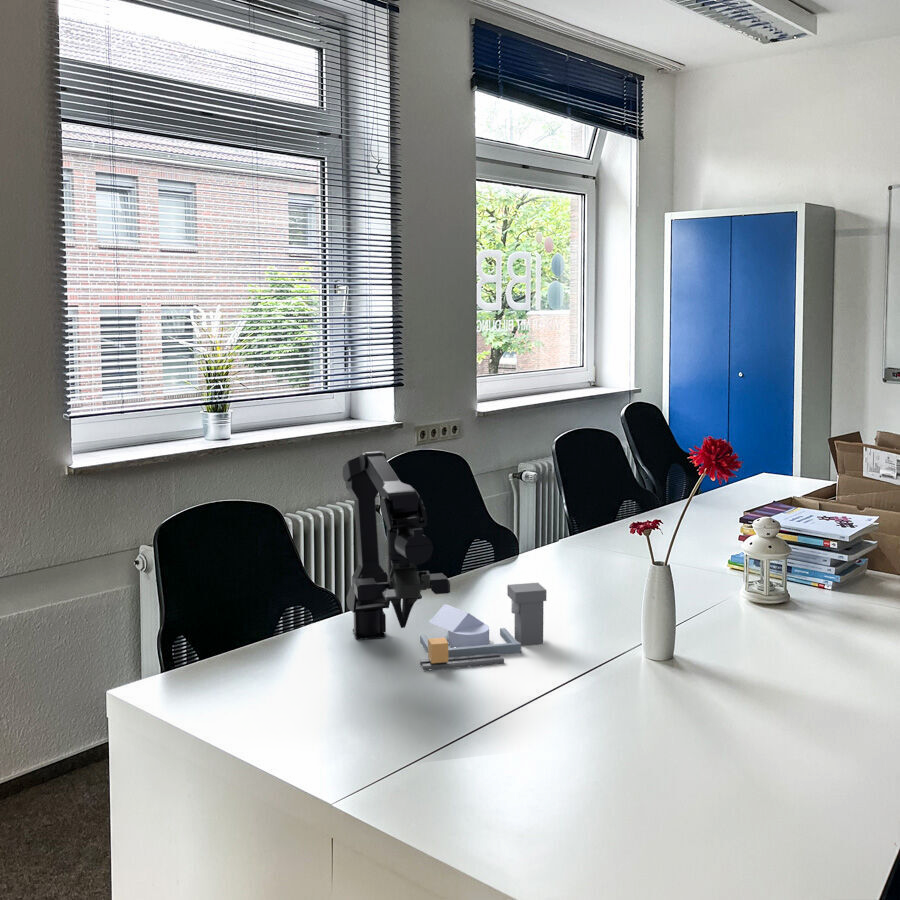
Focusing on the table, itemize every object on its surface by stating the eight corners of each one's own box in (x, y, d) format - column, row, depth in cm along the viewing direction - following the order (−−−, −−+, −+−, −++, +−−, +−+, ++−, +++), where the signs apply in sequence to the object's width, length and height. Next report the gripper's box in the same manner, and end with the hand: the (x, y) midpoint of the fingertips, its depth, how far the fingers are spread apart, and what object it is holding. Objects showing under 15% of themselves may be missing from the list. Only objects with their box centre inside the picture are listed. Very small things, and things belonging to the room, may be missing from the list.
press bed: (431, 660, 207) (430, 604, 205) (420, 641, 219) (419, 587, 217) (551, 650, 213) (552, 595, 211) (534, 632, 224) (534, 579, 223)
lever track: (423, 670, 201) (423, 666, 201) (419, 664, 205) (419, 660, 205) (504, 663, 205) (504, 658, 205) (499, 657, 209) (499, 652, 208)
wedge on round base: (429, 636, 222) (465, 652, 212) (428, 607, 221) (465, 622, 211) (460, 628, 228) (497, 643, 217) (460, 600, 227) (497, 613, 216)
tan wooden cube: (431, 668, 202) (431, 644, 201) (428, 662, 205) (427, 638, 204) (448, 666, 203) (448, 643, 202) (444, 660, 206) (444, 637, 205)
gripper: (360, 565, 189) (362, 644, 191) (456, 559, 193) (456, 636, 195) (352, 551, 200) (354, 626, 202) (443, 545, 204) (444, 619, 206)
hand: (402, 627), depth 201 cm, fingers closed
